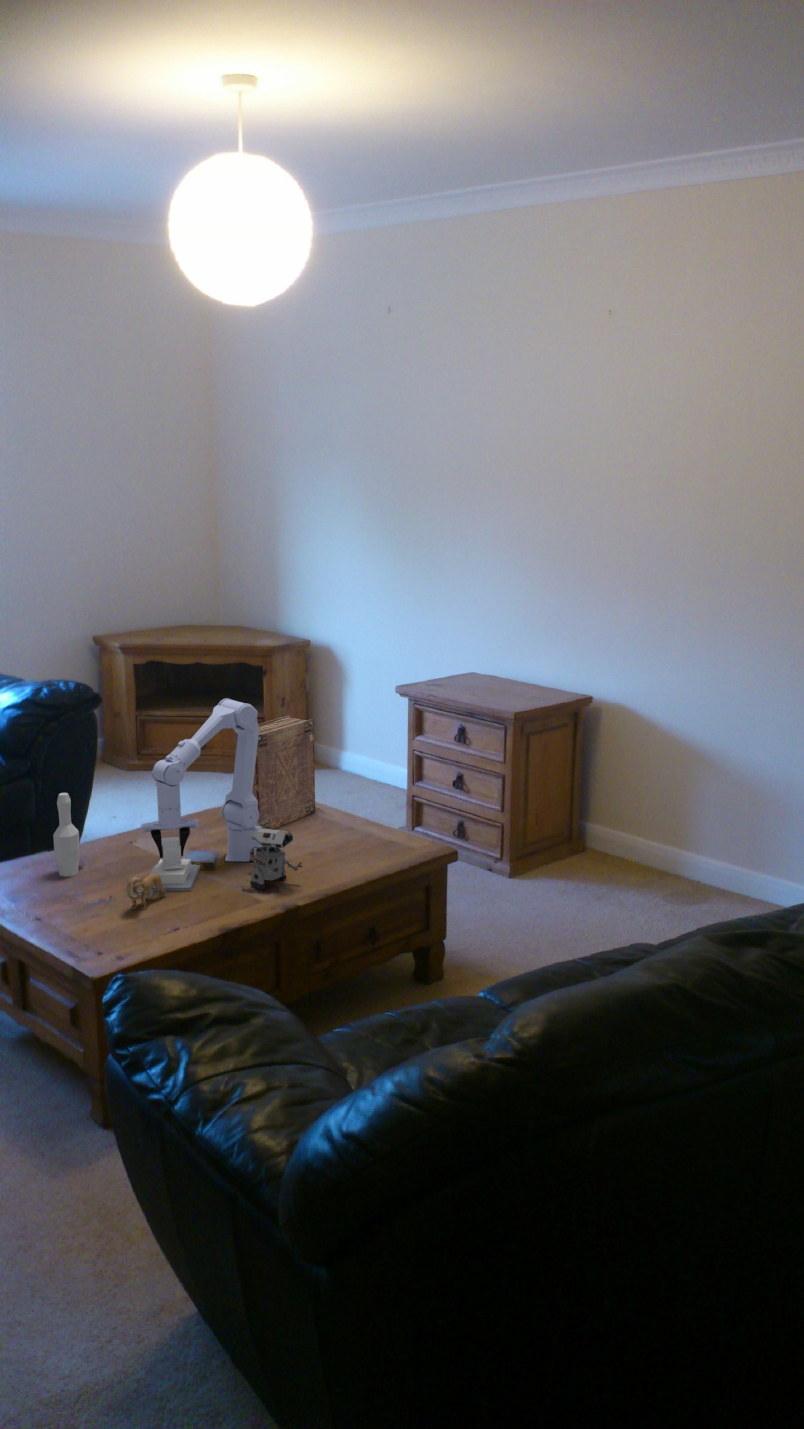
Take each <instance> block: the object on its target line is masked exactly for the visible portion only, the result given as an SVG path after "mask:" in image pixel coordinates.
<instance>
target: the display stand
mask: <svg viewBox="0 0 804 1429" xmlns="http://www.w3.org/2000/svg"><path fill="white" fill-rule="evenodd" d="M159 859H160V860H158V862H157V864H156V863H155V864H154V865H153V868H152V870H151V871H150V873H149V875H150V874H158V875H159V876H160V877H161V880H162V885H163V887H164V888H165V890H166V892H191V890H192V888H193V887H194V884H195V881H196V879H197V876H198V874H199V872H200V869H201V864H200V865H196V864H195V863H194V865H193V863H192V859H191V858H181V865H182V868H175V869H164V868H163V863H162V858H159ZM153 892H160V890H159V889H158V888H156V887H155V886H153Z"/></svg>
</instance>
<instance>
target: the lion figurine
mask: <svg viewBox="0 0 804 1429" xmlns="http://www.w3.org/2000/svg"><path fill="white" fill-rule="evenodd" d="M125 884H126V887H125V888H126V893H127V894H126V895H127V896H128V897H129V899H131V903H132V905H131V906H130V909H131V910H134V909H136V908H137V900H141V904H140V905H141V906H140V907H141V908H140V909H141V910H143V911H144V910H146V909H147V904H146V900H150V899H151V898H152V895H153V893H154V891H153V886H155V887H156V888H158V889H159V890H160V891H159V892H161V893H162V894H161V895H160V897H161V898H166V897H167V891H166V890H165V888H164V887H163V885H162V880H161V877H160V876H159V875H158V874H150V873H149V875H147V876H145V878H143V879H142V878H141V877H137V876H133V877H130V878H128V880H127V882H126V883H125Z"/></svg>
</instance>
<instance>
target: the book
mask: <svg viewBox="0 0 804 1429" xmlns="http://www.w3.org/2000/svg"><path fill="white" fill-rule="evenodd" d="M258 726H259V736H258V745H257V754H256V763H255V772H254V781H253V789H252V793H253V795H254V796H255V798H256V800H257V801H258V811H259V820H258V822H257V824H256V826H261V827H262V829H272V830H278V829H279V828H282V827H284V826H286V825H289V824H291V823H292V824H293V823H294V822H297V821H299V820H301V819H304V818H307V817H309V816H311V815H314V814H315V813H316V784H315V783H316V781H315V780H316V779H315V775H316V774H315V722H314V719H313V718H311V719H307V720H306V719H305V720H304V719H302V718H301V719H300V718H295V717H293V715H292V714H289V715H285V716H282V717H281V716H280V717H278V718H275V719H271V720H267V721H265V722H261V723H258ZM237 740H238V734H237V732H236V731H235V730H234V732H233V742H234V743H233V747H234V750H233V751H234V759H235V758H236V749H237Z"/></svg>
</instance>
